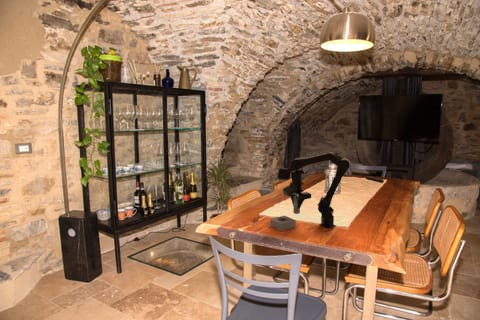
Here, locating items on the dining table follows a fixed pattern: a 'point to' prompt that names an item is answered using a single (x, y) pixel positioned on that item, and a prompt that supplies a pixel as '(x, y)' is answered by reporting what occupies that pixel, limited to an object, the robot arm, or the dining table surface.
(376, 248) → the dining table surface
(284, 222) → the socket block
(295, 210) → the peg
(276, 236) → the dining table surface
